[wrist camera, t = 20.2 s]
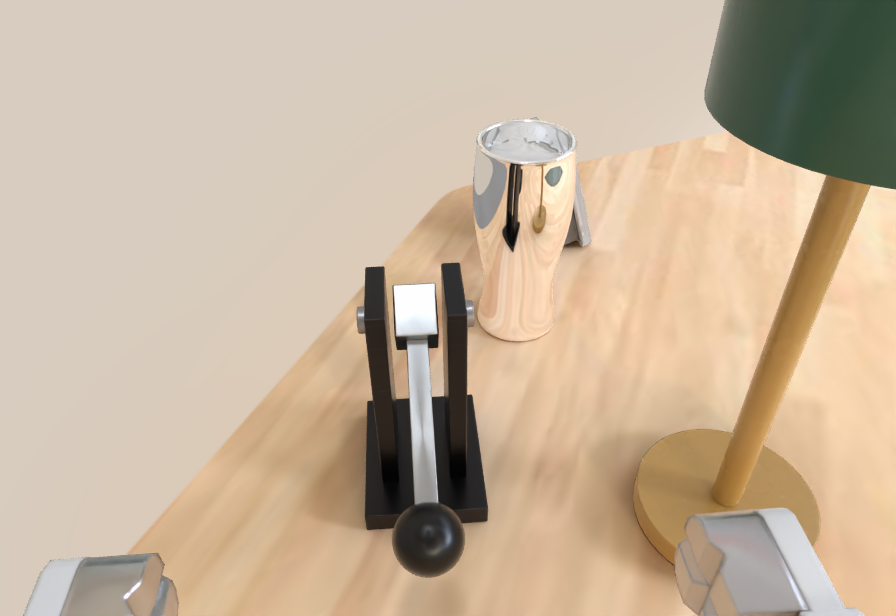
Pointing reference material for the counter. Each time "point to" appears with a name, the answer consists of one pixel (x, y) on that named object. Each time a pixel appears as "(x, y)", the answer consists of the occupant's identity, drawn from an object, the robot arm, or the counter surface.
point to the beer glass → (521, 222)
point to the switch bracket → (391, 416)
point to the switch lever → (423, 443)
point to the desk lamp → (839, 203)
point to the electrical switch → (578, 217)
